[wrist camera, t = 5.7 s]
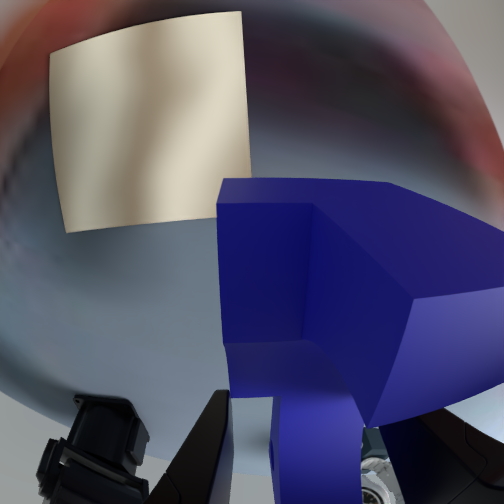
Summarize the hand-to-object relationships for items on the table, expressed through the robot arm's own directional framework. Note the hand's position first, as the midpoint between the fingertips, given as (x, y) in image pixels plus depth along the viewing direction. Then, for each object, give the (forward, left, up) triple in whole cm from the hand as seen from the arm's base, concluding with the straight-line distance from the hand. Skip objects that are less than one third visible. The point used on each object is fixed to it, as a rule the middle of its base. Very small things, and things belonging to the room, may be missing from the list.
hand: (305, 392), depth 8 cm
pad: (-7, +9, -11) cm, 16 cm away
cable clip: (0, 0, -2) cm, 2 cm away
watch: (+10, -24, -11) cm, 29 cm away
